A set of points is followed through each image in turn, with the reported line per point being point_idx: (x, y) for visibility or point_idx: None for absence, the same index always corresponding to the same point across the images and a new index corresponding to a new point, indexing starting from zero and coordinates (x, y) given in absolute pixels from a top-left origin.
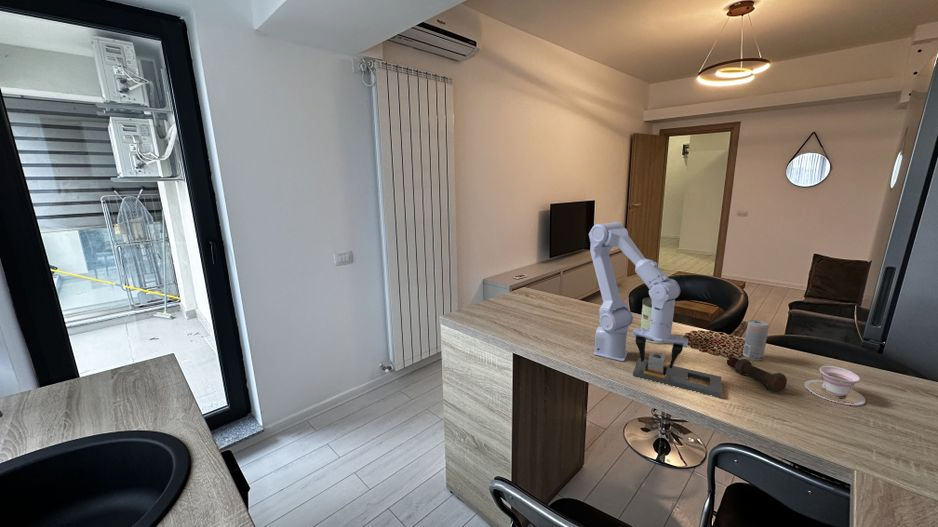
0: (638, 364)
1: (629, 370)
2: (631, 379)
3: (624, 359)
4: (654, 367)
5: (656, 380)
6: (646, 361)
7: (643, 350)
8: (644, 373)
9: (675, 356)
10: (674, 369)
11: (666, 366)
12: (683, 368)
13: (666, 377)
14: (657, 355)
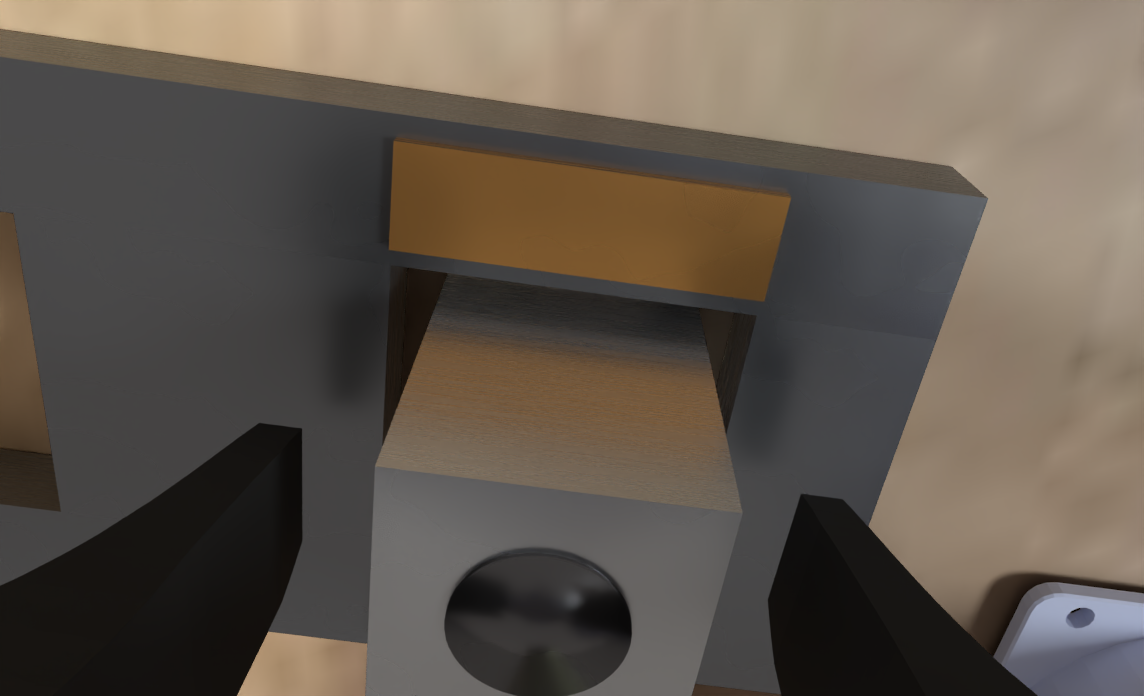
0: None
1: (975, 354)
2: (1000, 28)
3: (1010, 633)
4: (586, 368)
5: (543, 117)
6: None
7: (913, 687)
8: (774, 191)
9: (30, 590)
10: None
11: None
12: None
13: (364, 209)
14: (531, 653)
